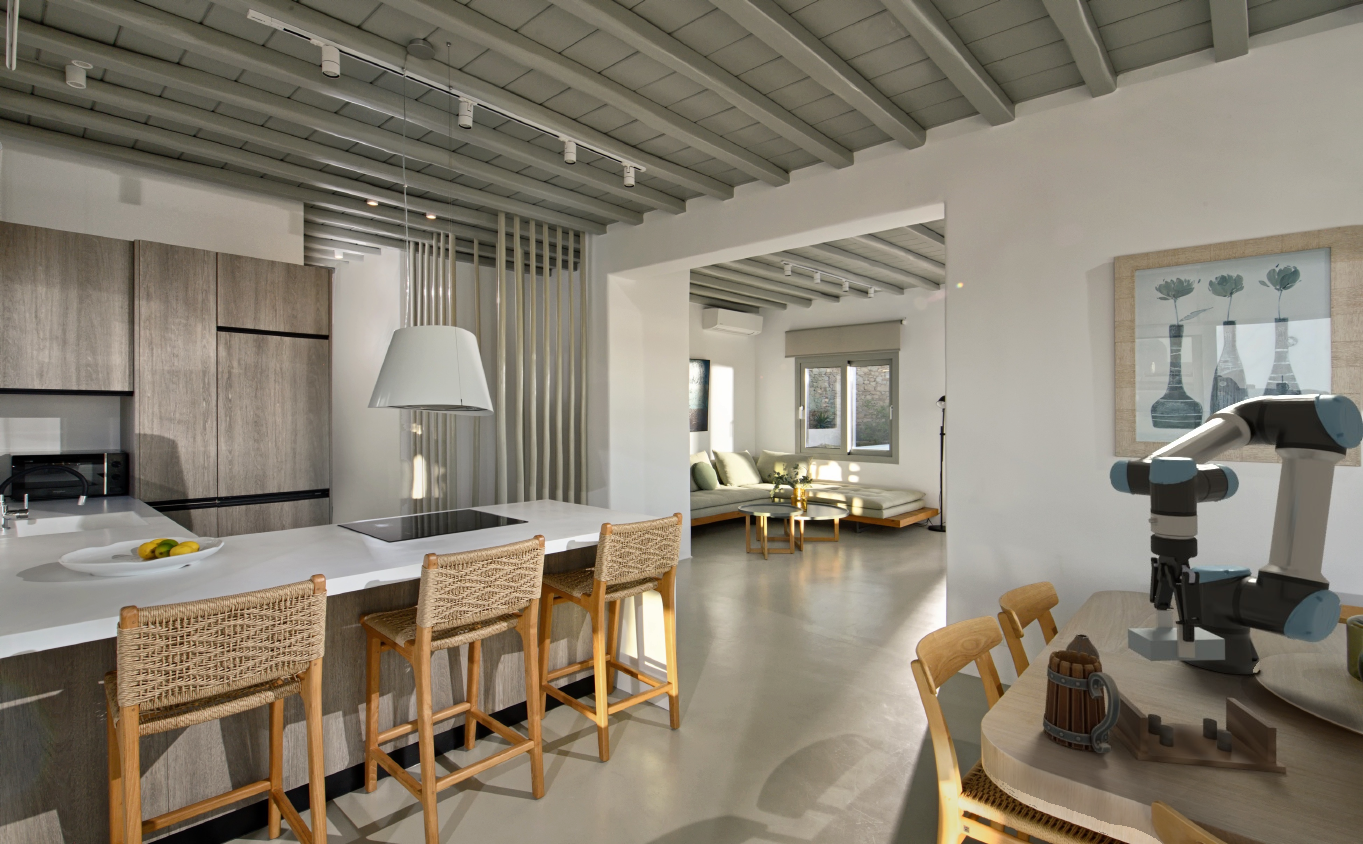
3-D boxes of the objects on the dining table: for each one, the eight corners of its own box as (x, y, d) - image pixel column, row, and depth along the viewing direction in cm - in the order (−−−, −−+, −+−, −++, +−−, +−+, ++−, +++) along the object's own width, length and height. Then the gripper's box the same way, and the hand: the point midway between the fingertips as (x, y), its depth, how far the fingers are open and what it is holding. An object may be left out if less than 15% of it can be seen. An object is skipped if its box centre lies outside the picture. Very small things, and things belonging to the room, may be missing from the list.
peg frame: (1235, 733, 125) (1235, 696, 125) (1285, 773, 111) (1286, 731, 111) (1104, 722, 129) (1104, 687, 129) (1137, 759, 116) (1137, 719, 115)
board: (1198, 646, 136) (1198, 627, 136) (1225, 659, 129) (1224, 639, 129) (1128, 647, 137) (1127, 628, 137) (1150, 660, 130) (1150, 640, 130)
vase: (1105, 680, 150) (1105, 641, 149) (1071, 678, 151) (1071, 639, 151) (1092, 668, 156) (1092, 631, 156) (1060, 667, 158) (1060, 630, 158)
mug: (1030, 726, 128) (1030, 648, 128) (1082, 723, 129) (1082, 646, 129) (1086, 769, 113) (1086, 681, 112) (1145, 766, 114) (1145, 678, 113)
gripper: (1129, 525, 143) (1130, 631, 144) (1179, 545, 123) (1180, 667, 124) (1168, 526, 142) (1170, 632, 142) (1225, 546, 122) (1226, 670, 122)
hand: (1174, 648), depth 133 cm, fingers closed on board, 8 cm apart
